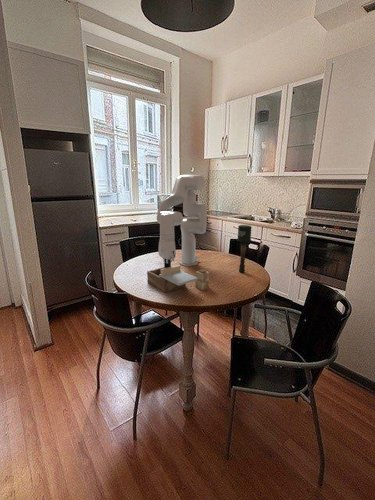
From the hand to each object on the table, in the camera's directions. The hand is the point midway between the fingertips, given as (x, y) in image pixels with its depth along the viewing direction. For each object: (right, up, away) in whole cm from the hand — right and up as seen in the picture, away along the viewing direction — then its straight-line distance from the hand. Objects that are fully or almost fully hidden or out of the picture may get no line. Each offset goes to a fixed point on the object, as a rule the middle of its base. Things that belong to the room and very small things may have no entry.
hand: (167, 269), depth 138 cm
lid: (+6, -4, -6) cm, 10 cm away
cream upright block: (+19, -10, 0) cm, 21 cm away
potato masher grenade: (+46, -4, +24) cm, 52 cm away
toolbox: (-1, -9, +4) cm, 10 cm away
